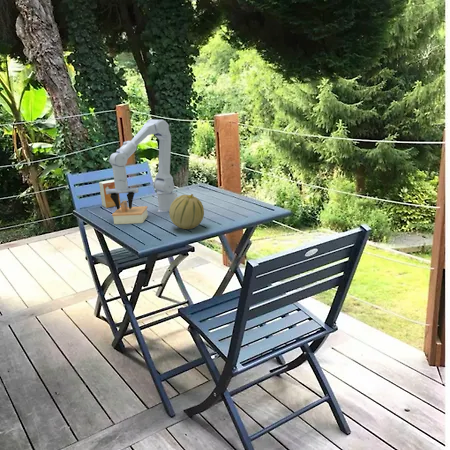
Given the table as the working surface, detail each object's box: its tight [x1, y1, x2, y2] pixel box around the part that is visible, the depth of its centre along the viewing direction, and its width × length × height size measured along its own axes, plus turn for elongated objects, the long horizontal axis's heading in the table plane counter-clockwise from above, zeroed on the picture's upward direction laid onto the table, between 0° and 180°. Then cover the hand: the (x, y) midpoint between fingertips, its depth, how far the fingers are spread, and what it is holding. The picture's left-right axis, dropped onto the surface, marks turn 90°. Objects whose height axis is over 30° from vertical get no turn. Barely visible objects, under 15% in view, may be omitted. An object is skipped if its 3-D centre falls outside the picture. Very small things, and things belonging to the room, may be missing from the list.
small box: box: [98, 179, 121, 209], centre depth 243 cm, size 8×6×13 cm
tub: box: [112, 208, 149, 225], centre depth 214 cm, size 13×11×4 cm
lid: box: [111, 200, 148, 217], centre depth 213 cm, size 14×12×5 cm
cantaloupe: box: [168, 193, 205, 230], centre depth 197 cm, size 15×15×15 cm
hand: (124, 208), depth 213 cm, fingers open, 5 cm apart
